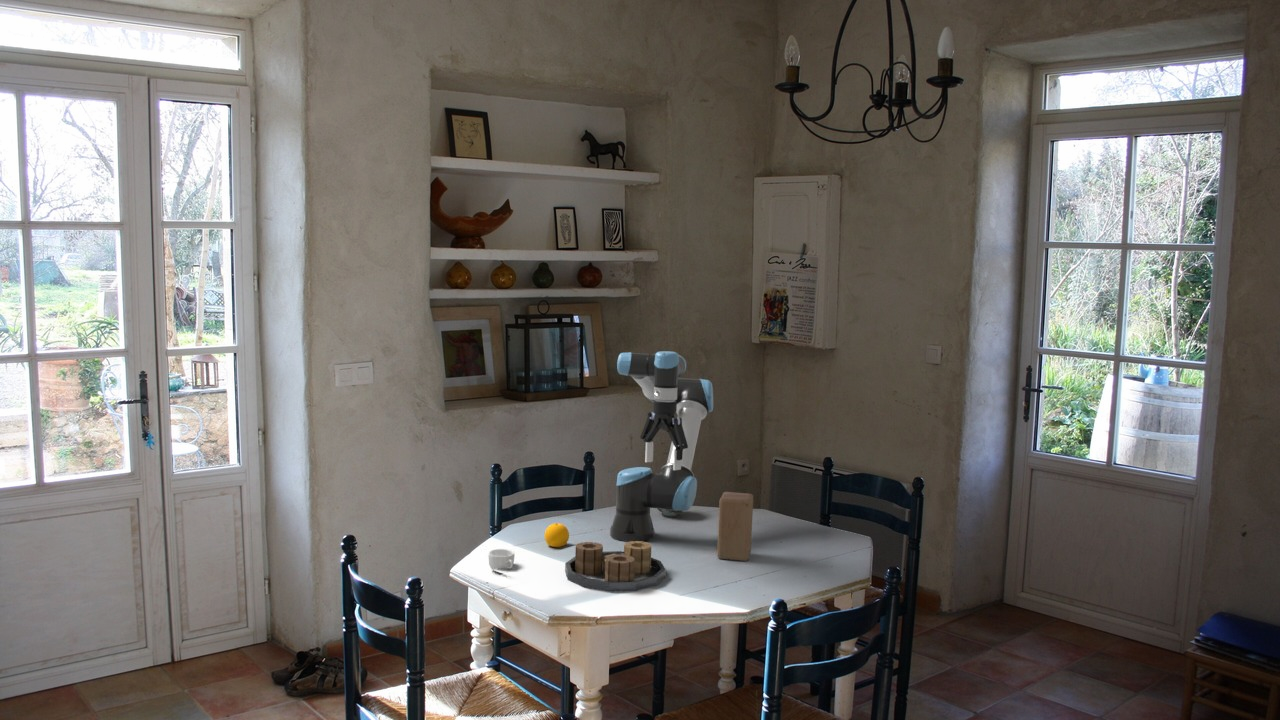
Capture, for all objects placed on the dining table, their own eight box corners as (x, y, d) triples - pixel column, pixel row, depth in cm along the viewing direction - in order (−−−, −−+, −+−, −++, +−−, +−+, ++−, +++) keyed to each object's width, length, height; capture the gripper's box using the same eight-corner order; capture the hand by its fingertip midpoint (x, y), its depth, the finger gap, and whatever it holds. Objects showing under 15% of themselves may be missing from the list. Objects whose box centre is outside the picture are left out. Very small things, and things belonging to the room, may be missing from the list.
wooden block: (748, 562, 312) (750, 500, 310) (716, 559, 314) (719, 498, 312) (750, 553, 322) (753, 493, 319) (720, 550, 324) (723, 490, 321)
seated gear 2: (600, 585, 281) (601, 560, 280) (613, 577, 288) (613, 552, 287) (625, 590, 278) (626, 564, 277) (637, 582, 285) (638, 557, 284)
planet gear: (618, 568, 297) (619, 543, 296) (638, 563, 302) (639, 539, 301) (635, 575, 291) (636, 550, 290) (655, 570, 296) (656, 546, 295)
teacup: (483, 568, 297) (483, 551, 296) (505, 564, 302) (505, 547, 301) (500, 577, 289) (501, 560, 289) (523, 573, 294) (523, 555, 294)
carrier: (546, 575, 293) (547, 548, 292) (622, 558, 312) (623, 533, 311) (606, 603, 271) (607, 575, 270) (684, 583, 290) (685, 557, 289)
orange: (554, 550, 317) (554, 528, 316) (539, 544, 323) (540, 522, 322) (573, 546, 322) (574, 524, 322) (559, 540, 328) (559, 518, 327)
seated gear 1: (569, 570, 294) (570, 545, 293) (587, 564, 300) (588, 540, 299) (589, 576, 288) (589, 551, 288) (607, 570, 295) (608, 546, 294)
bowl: (649, 518, 360) (649, 496, 359) (654, 508, 373) (655, 488, 372) (686, 521, 358) (687, 499, 357) (690, 511, 371) (691, 490, 370)
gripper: (631, 395, 320) (629, 459, 322) (682, 406, 301) (680, 474, 303) (648, 394, 325) (646, 457, 327) (700, 404, 306) (698, 471, 308)
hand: (662, 465), depth 315 cm, fingers open, 13 cm apart
